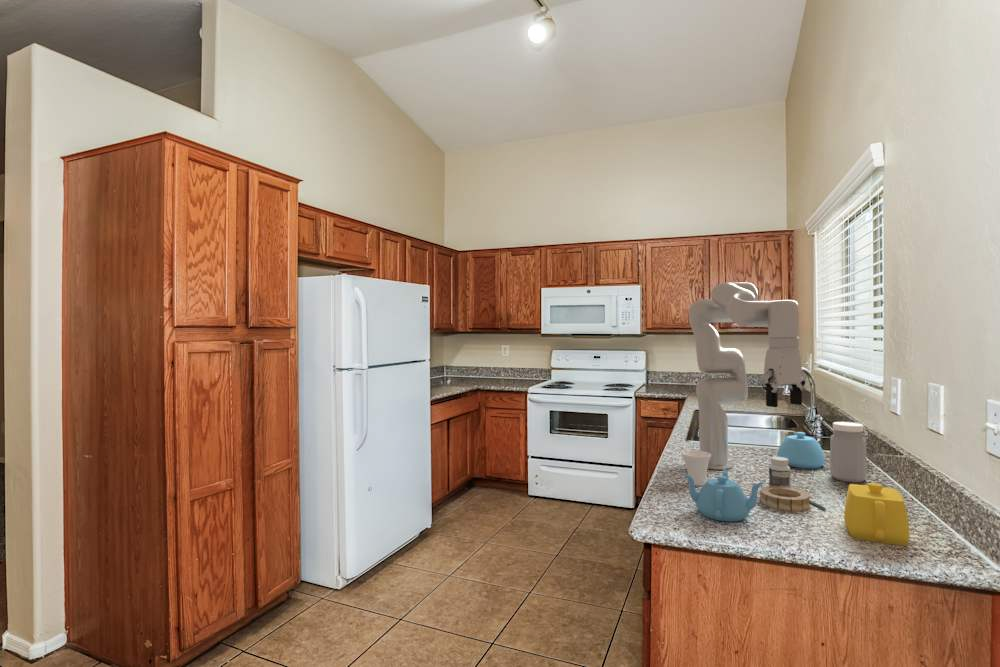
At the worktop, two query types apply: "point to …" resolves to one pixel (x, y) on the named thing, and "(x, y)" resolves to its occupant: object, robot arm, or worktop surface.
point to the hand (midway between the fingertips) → (784, 405)
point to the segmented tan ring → (784, 498)
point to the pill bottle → (779, 472)
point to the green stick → (817, 505)
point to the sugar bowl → (802, 451)
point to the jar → (848, 452)
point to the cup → (697, 465)
